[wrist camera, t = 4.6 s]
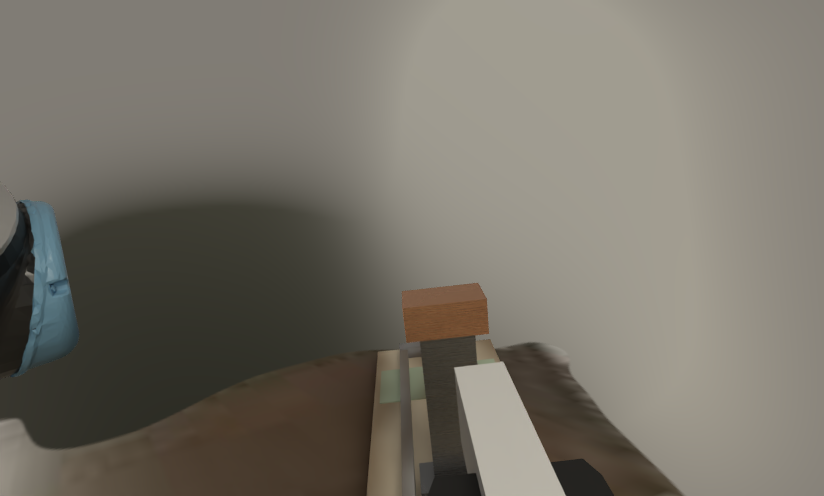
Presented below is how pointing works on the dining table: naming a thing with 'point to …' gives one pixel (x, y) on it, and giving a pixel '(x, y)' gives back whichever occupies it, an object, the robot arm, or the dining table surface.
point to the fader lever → (444, 364)
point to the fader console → (403, 420)
